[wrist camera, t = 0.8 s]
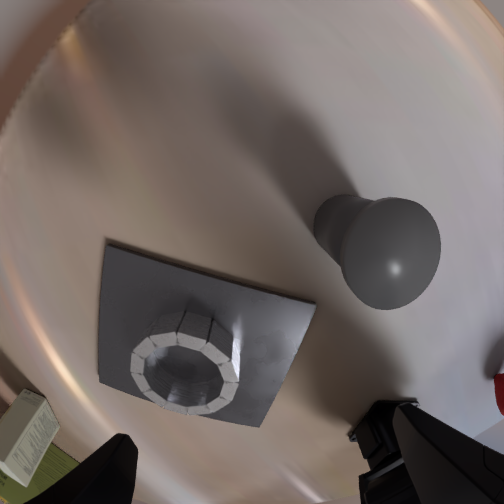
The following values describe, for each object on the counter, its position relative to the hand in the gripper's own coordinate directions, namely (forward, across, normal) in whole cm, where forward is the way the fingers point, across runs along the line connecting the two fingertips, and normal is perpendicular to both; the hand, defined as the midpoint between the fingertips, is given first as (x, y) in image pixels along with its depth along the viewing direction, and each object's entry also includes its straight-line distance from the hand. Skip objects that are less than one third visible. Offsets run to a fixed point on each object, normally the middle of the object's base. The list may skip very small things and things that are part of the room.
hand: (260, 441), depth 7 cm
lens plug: (+13, -7, -4) cm, 15 cm away
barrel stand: (+13, +6, +5) cm, 15 cm away
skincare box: (+14, +30, +14) cm, 36 cm away
